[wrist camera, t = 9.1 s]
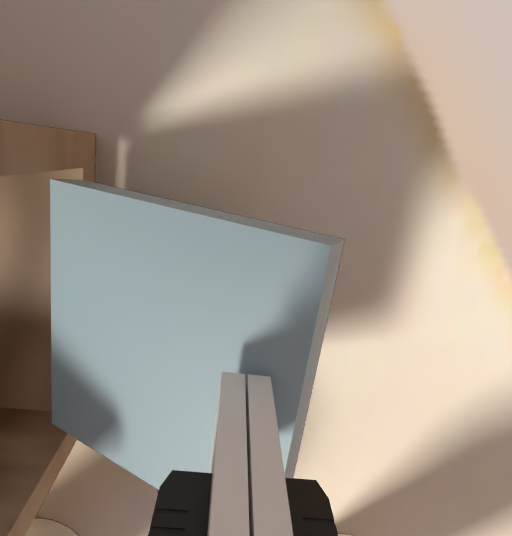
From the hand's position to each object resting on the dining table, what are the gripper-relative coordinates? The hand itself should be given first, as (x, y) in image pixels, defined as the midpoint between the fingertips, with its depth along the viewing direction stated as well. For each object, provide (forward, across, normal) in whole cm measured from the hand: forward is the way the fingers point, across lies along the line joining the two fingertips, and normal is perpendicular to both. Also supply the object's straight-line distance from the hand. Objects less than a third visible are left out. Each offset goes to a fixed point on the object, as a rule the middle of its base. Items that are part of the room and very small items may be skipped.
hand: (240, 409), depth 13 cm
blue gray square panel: (+7, -8, 0) cm, 10 cm away
